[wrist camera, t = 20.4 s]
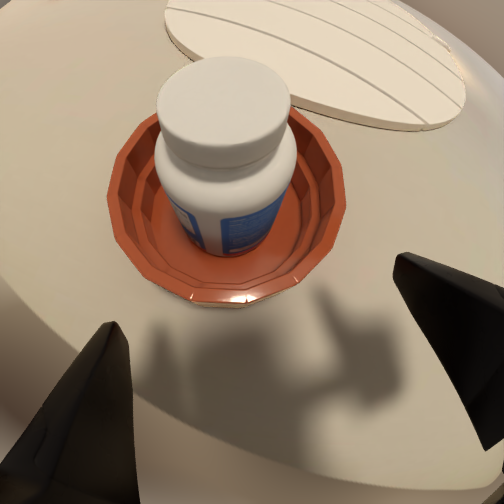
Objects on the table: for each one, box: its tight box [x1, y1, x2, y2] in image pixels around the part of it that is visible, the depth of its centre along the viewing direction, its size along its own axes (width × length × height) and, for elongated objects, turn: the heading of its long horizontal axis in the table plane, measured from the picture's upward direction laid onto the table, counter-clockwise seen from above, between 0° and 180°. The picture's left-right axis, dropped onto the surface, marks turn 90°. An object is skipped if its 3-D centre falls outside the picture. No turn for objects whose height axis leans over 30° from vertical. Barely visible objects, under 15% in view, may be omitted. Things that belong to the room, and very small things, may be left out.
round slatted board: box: [165, 0, 466, 131], centre depth 23 cm, size 40×39×3 cm
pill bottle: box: [154, 56, 297, 257], centre depth 12 cm, size 6×5×10 cm
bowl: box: [107, 106, 346, 308], centre depth 15 cm, size 11×11×5 cm
